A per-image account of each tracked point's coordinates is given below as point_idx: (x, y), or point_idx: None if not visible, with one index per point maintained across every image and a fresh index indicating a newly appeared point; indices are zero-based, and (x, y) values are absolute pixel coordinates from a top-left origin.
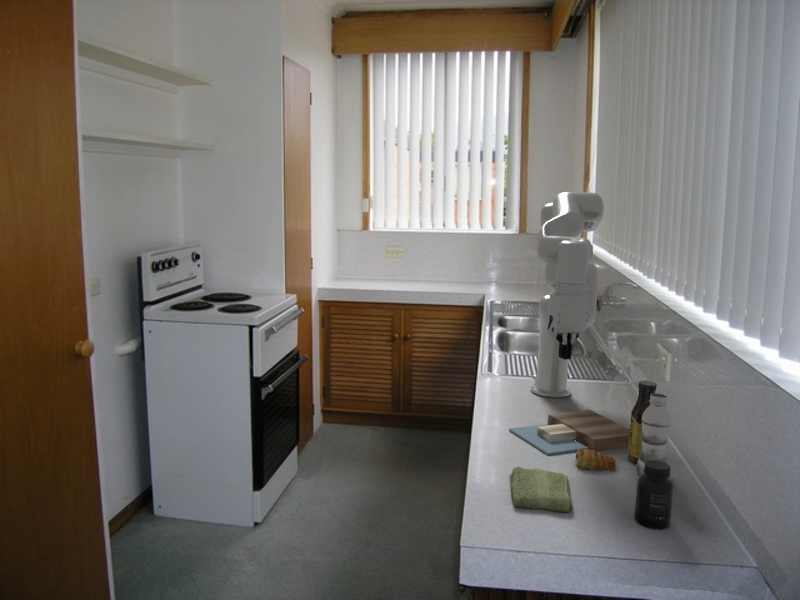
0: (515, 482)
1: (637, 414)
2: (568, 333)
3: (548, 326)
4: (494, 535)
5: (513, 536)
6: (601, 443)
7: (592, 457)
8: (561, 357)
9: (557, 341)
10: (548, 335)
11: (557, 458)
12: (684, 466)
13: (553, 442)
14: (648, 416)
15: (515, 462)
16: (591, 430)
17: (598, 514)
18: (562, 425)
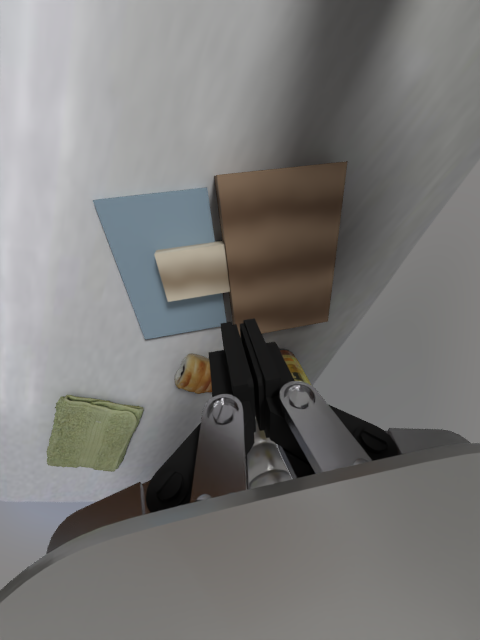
0: (53, 443)
1: None
2: (325, 465)
3: (28, 618)
4: (24, 491)
5: (45, 490)
6: None
7: (195, 392)
8: (223, 344)
9: (205, 405)
10: (62, 536)
11: (158, 348)
12: (317, 377)
13: None
14: None
15: (78, 357)
16: (257, 299)
17: (148, 459)
18: (218, 255)
